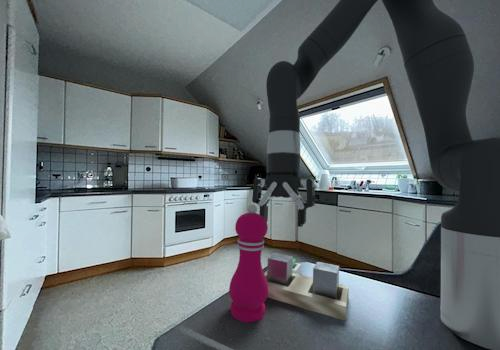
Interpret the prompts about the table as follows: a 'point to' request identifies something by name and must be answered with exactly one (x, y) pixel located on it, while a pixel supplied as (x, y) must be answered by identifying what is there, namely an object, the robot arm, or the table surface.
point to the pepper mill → (249, 269)
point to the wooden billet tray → (310, 296)
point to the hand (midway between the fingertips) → (281, 224)
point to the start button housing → (297, 269)
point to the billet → (326, 280)
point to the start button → (294, 263)
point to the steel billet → (280, 269)
